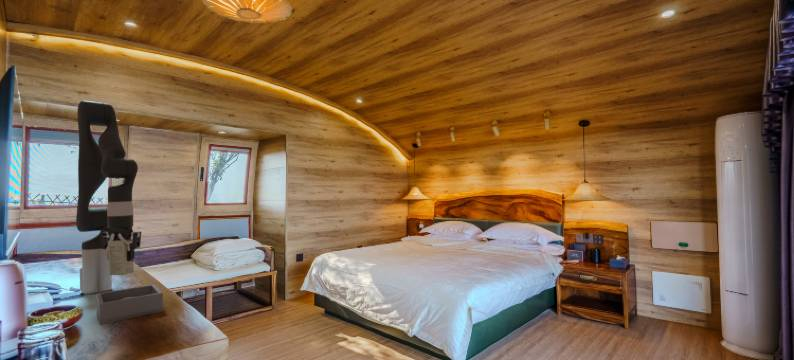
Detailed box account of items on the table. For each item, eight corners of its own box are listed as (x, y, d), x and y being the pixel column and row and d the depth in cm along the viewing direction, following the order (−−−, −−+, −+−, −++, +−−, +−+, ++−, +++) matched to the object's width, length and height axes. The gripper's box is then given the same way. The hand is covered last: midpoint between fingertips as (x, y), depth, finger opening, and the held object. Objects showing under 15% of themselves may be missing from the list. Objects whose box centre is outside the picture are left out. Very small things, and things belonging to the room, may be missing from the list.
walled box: (99, 324, 111) (99, 304, 111) (97, 312, 123) (96, 293, 123) (162, 311, 121) (162, 292, 121) (154, 301, 133) (154, 284, 133)
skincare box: (134, 272, 136) (133, 238, 136) (124, 275, 132) (124, 240, 132) (118, 272, 137) (117, 238, 137) (107, 275, 132) (107, 240, 132)
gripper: (147, 213, 138) (147, 258, 137) (110, 213, 138) (110, 258, 138) (131, 215, 130) (132, 263, 130) (92, 215, 131) (92, 263, 131)
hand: (121, 260), depth 134 cm, fingers closed on skincare box, 6 cm apart
